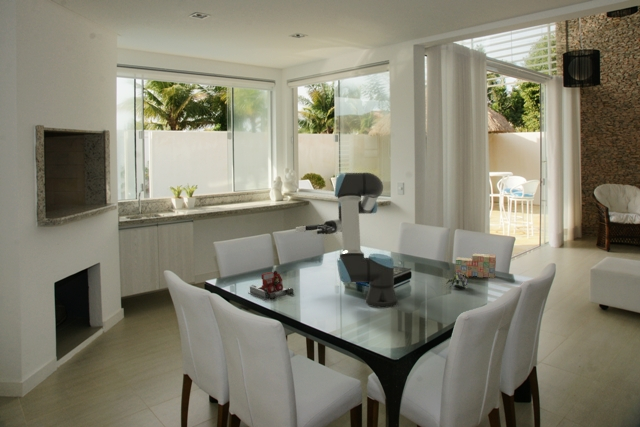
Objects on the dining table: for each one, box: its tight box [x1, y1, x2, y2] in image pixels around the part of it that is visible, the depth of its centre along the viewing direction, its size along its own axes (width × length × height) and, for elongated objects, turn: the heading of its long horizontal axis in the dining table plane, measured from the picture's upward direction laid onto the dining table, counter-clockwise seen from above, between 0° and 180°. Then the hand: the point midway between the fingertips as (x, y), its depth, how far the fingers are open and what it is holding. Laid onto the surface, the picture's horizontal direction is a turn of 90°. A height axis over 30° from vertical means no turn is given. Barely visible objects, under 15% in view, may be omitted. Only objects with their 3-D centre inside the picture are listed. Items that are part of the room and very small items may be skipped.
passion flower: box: [445, 269, 470, 290], centre depth 245 cm, size 11×11×12 cm
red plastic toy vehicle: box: [261, 270, 284, 293], centre depth 244 cm, size 7×12×10 cm, turn 131°
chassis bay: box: [248, 284, 294, 300], centre depth 244 cm, size 20×18×4 cm
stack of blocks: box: [455, 253, 497, 279], centre depth 268 cm, size 21×6×12 cm, turn 65°
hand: (303, 231), depth 251 cm, fingers open, 13 cm apart
